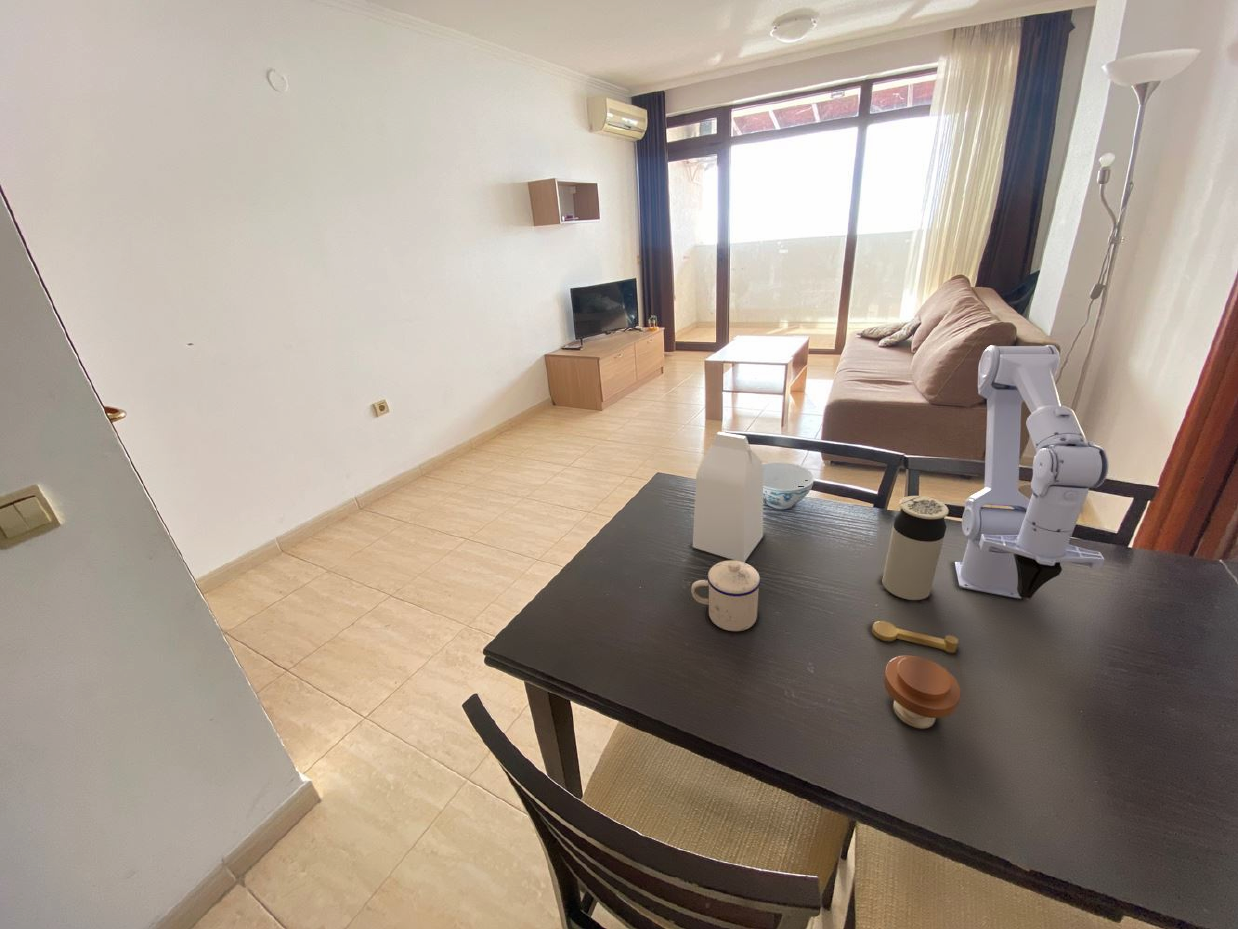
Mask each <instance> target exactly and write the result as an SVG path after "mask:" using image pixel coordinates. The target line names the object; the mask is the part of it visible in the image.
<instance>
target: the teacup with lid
mask: <svg viewBox="0 0 1238 929" xmlns="http://www.w3.org/2000/svg"><path fill="white" fill-rule="evenodd" d="M760 586H761V577H760V575H759V572H758V571H757V570H756V568H755V567H753V566H752V565H750V564H748V563H746V562H740V561H735V560H732V559H729V560H724V561H723V560H722V561H720V562H718V563H715V564H714V565H712V567H711V568H710V569H709V570H708V573H707V579H699V580H696V581H695V582H693V583H692V585H691V588H690V592H691V595H692V597H693V599H694V600H695V601H696V602H698V603H699V604H702V605H708V616H709V618H710V620H711V622H712V624H714V625H716V626H717V627H718V628H720V629H722V630H726V631H730V632H742V631H745V630H748V629H750V628H751V627H753V626H754V624H755V623H756V621H757V619H758V604H759V602H758V601H759V587H760ZM699 587H708V598H707V597H703V596H701V595H699V594H698V593H697V591H696V589H697V588H699Z"/></svg>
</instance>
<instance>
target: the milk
mask: <svg viewBox="0 0 1238 929" xmlns="http://www.w3.org/2000/svg"><path fill="white" fill-rule="evenodd" d="M763 464H764V463H763V461H762V460H761V458H760V457H759V456H758V455H757V454H756V453H755V451H753V450H752V449H751V445H750V443H749V441H748V438H747V436H746V435H741V434H735V433H729V432H724V431H718V432H717V433H715V436H714V438H713V439H712V442H711V443H710V446H709V447H708V449H707V451H706V453H705V455H704V457H703V459H702V460H701V462H700V464H699V466H698V468H697V471H696V476H695V491H694V509H693V512H694V514H693V529H692V548H693V549H697V550H700V551H703V552H707V553H710V554H714V555H716V556H720V557H721V558H722V557H723V558H726V559H728V560H733V561H740V562H744V563H746V561H747V560H748V558H749V557H750V555H751V554H752V552H753V551H754V549H755V548H756V547H757V546H758V544H759V543H760V541H761V540H762V539H763V537H764V500H763Z"/></svg>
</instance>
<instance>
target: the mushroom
mask: <svg viewBox="0 0 1238 929" xmlns="http://www.w3.org/2000/svg"><path fill="white" fill-rule="evenodd" d="M883 684H884V687H885V690H886V692H887V693H888V695H890V697H891V698H892V699H893V705H892V706H893V710H894V713H895V715H896V716H897V718H899V719H900V720H901V721H902V722H903V723H905V724H906V725H907V726H908V725H909V726H910V727H912V728H916V729H928V728H931V727H932V726H933V725H934V724H935V722H936V719H943V718H946V717H949V716H952V715H953V714H954V713H955V712H956V711H957V709H958V707H959V703H960V702H961V696H962V691H961V687H960V684H959V683H958V681H957V679H956V678H955V677H954V676H953V674H951V673H950V672H949V670H947V669H946V668H945V667H943V666H942V665H940V664H939V663H936V662H935V661H934V660H933V661H932V660H930V659H929V658H926V657H922V656H917V655H910V654H909V655H898V656H896V657H894V658H892V659H891V660H889V661H888V662H887V664H886V666H885V670H884V675H883Z"/></svg>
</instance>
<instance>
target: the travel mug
mask: <svg viewBox="0 0 1238 929" xmlns="http://www.w3.org/2000/svg"><path fill="white" fill-rule="evenodd" d="M898 505H899V509H900V510H899V511H898V512H897V513H896V514H895V515H894V520H893V525H892V528H891V535H890V538H889V539H890V540H889V545H888V550H887V555H886V559H885V560H886V561H885V565H884V570H883V575H882V580H881V582H882V586H883V587H884V588H885V589H886V590H887V592H889V593H890V594H892V595H894V596H896V597H898V598H900V599H901V598H902V599H906V600H909V601H920V600H924V599H927V598H928V597H929V596H930V594H931V591H932V588H933V583H934V578H935V574H936V570H937V568H938V567H937V566H938V562H939V559H940V555H941V551H942V548H943V543H944V539H945V535H946V531H947V524H946V521H945V518H946V517H947V516H948V514H949V512H950V510H949V508H948V507H947V505H946V504H944V503H943V502H941V501H940V500H938V499H935V498H932V497H929V496H922V495H909V496H905V497H903V498H901V499H900V500H899V502H898Z"/></svg>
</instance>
